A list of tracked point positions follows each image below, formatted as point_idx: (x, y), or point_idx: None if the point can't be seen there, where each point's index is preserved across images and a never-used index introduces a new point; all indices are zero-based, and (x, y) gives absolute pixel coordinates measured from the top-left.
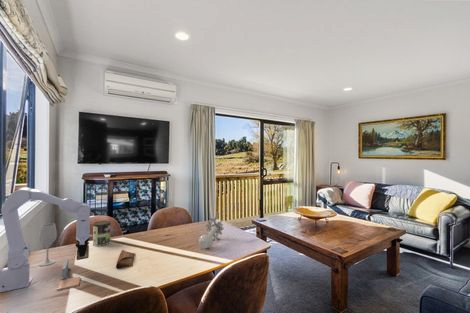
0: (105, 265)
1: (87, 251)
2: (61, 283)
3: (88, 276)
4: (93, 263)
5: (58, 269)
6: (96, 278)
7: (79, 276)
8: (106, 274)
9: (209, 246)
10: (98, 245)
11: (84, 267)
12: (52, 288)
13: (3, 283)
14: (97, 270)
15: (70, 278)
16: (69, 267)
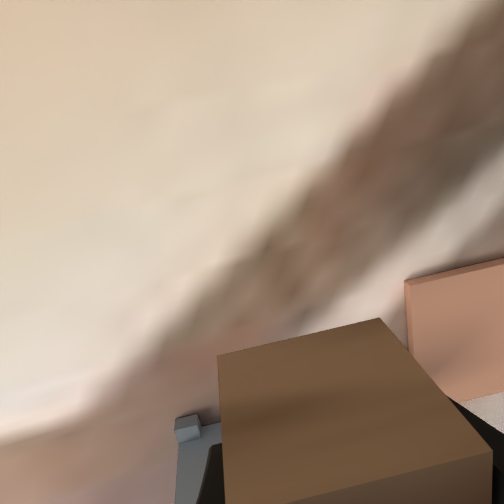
0: (196, 81)
1: (444, 410)
2: (475, 383)
3: (416, 212)
4: (96, 244)
5: (164, 495)
6: (500, 120)
7: (413, 290)
8: (460, 22)
9: None
10: None
11: (184, 307)
12: (490, 410)
13: None
14: (310, 153)
15: (417, 350)
16: (181, 434)
